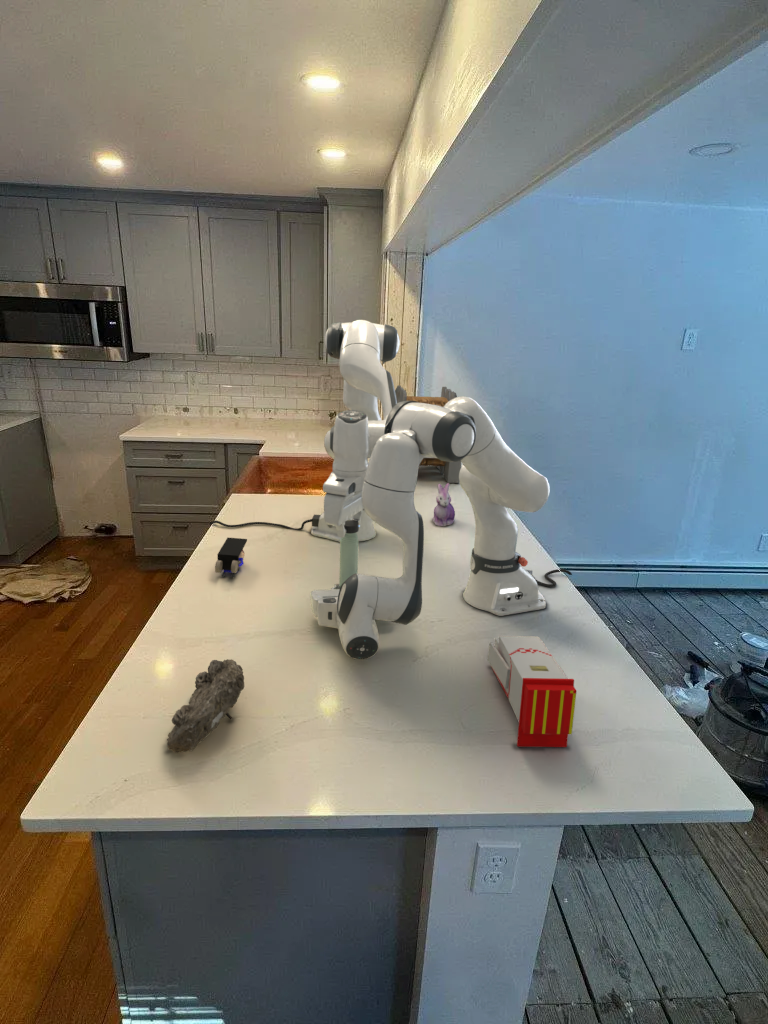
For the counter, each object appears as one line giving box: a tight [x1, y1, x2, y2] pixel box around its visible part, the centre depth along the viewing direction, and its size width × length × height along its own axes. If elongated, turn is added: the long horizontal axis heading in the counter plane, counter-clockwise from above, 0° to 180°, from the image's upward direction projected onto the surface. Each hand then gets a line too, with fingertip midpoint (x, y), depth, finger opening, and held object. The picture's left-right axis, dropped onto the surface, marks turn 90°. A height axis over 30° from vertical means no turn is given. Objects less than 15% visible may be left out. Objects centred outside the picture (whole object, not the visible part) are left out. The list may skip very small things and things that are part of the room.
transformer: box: [395, 384, 462, 484], centre depth 268 cm, size 34×33×41 cm
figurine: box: [432, 482, 456, 527], centre depth 210 cm, size 9×10×15 cm
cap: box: [344, 520, 359, 534], centre depth 143 cm, size 4×5×2 cm
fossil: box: [166, 658, 245, 754], centre depth 106 cm, size 22×10×15 cm
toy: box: [486, 635, 577, 748], centre depth 115 cm, size 12×13×30 cm
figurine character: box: [214, 537, 248, 578], centre depth 166 cm, size 7×8×15 cm
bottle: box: [338, 533, 360, 588], centre depth 147 cm, size 5×5×23 cm
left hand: (349, 530), depth 143 cm, fingers open, 7 cm apart
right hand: (347, 585), depth 150 cm, fingers closed on bottle, 5 cm apart
